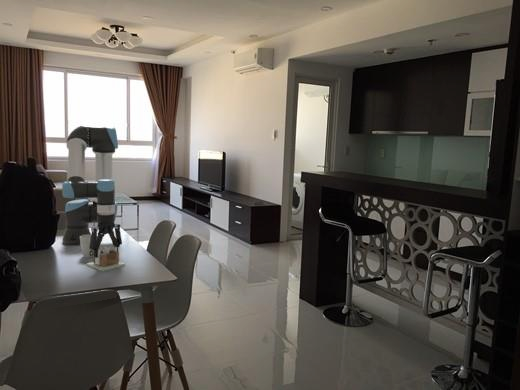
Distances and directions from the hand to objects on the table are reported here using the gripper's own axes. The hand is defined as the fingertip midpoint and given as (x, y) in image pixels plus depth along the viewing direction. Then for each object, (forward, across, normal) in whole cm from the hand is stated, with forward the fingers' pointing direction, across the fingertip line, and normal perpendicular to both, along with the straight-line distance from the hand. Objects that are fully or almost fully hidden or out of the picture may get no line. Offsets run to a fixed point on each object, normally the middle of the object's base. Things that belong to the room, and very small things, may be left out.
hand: (106, 262), depth 196 cm
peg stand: (+2, 0, 0) cm, 2 cm away
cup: (+2, +3, +19) cm, 19 cm away
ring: (0, 0, 0) cm, 0 cm away
